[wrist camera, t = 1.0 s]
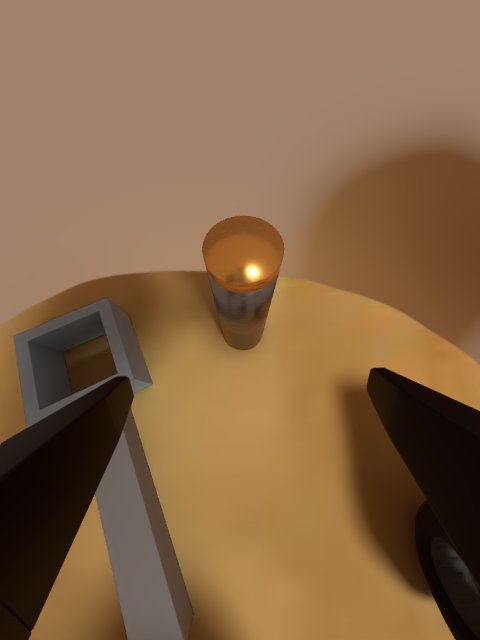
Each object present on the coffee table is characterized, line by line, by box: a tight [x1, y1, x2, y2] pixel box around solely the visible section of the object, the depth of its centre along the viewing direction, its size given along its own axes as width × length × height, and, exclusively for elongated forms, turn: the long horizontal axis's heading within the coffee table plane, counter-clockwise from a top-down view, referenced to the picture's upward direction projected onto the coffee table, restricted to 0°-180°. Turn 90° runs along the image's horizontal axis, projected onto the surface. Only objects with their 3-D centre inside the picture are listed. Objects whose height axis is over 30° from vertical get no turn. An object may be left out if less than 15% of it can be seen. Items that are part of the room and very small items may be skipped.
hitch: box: [14, 297, 193, 640], centre depth 18 cm, size 24×8×4 cm, turn 27°
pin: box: [202, 216, 284, 350], centre depth 17 cm, size 4×4×13 cm
